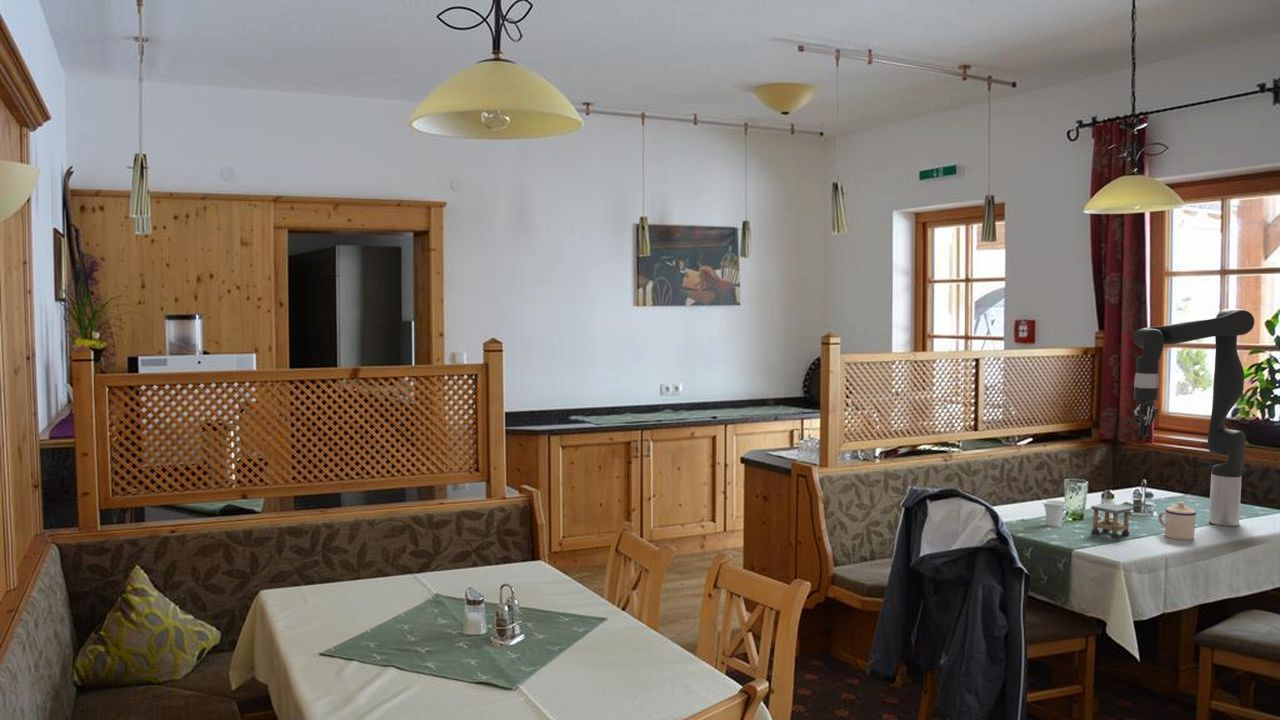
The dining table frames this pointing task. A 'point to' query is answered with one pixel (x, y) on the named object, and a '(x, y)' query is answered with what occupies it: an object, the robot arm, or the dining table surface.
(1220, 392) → the robot arm
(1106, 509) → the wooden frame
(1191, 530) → the teacup with lid
